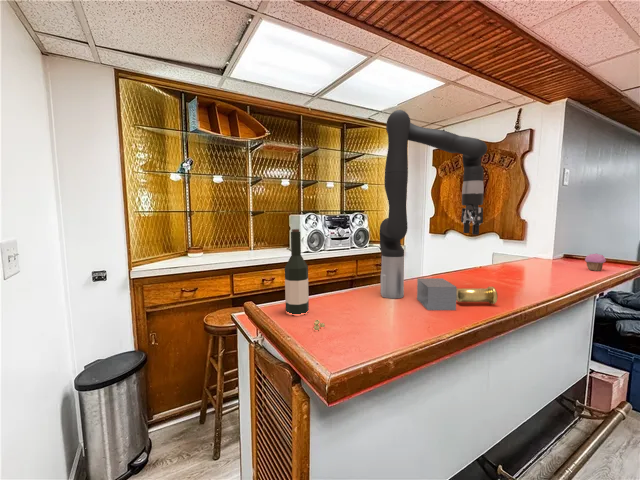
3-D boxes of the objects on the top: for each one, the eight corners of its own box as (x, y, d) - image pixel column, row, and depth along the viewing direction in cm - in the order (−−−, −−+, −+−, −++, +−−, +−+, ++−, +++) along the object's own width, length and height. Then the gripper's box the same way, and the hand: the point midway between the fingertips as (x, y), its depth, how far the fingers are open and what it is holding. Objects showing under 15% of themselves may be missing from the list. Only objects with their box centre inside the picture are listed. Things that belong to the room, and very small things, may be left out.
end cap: (461, 305, 110) (461, 289, 110) (454, 300, 117) (454, 284, 116) (497, 306, 110) (497, 289, 109) (488, 301, 116) (488, 284, 115)
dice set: (317, 325, 96) (317, 319, 96) (328, 329, 92) (328, 323, 92) (305, 329, 93) (305, 323, 92) (316, 334, 89) (316, 328, 89)
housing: (427, 310, 107) (428, 286, 107) (417, 299, 121) (417, 278, 120) (455, 310, 107) (456, 286, 106) (442, 299, 121) (442, 278, 120)
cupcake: (608, 271, 170) (609, 254, 170) (598, 272, 168) (599, 254, 167) (590, 268, 179) (591, 252, 178) (580, 269, 177) (581, 253, 176)
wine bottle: (300, 318, 101) (298, 230, 98) (280, 314, 105) (278, 229, 103) (313, 311, 108) (312, 228, 105) (295, 307, 113) (293, 228, 110)
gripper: (456, 194, 125) (454, 232, 126) (470, 191, 111) (468, 235, 112) (474, 194, 124) (472, 232, 126) (491, 191, 110) (489, 235, 112)
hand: (470, 233), depth 119 cm, fingers open, 8 cm apart
